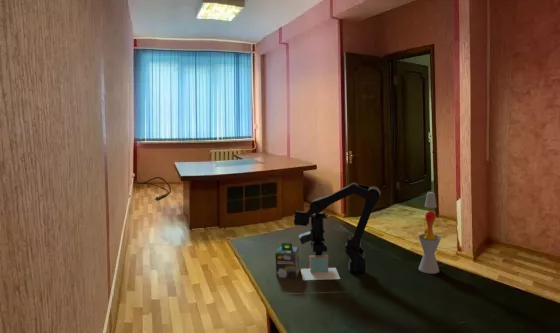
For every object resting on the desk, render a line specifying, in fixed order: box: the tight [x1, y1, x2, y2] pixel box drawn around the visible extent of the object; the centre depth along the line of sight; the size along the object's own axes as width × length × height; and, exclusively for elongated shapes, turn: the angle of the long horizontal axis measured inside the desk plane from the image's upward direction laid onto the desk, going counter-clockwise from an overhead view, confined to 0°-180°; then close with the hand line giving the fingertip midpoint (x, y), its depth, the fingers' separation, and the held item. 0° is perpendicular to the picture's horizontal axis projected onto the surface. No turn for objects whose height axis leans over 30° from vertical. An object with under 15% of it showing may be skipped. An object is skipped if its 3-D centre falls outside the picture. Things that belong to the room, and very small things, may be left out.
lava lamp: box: [418, 191, 441, 275], centre depth 167 cm, size 9×9×35 cm
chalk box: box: [274, 242, 301, 279], centre depth 167 cm, size 9×9×15 cm
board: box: [300, 267, 341, 281], centre depth 167 cm, size 16×12×1 cm
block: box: [309, 254, 329, 272], centre depth 169 cm, size 8×3×7 cm, turn 91°
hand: (317, 259), depth 173 cm, fingers closed
